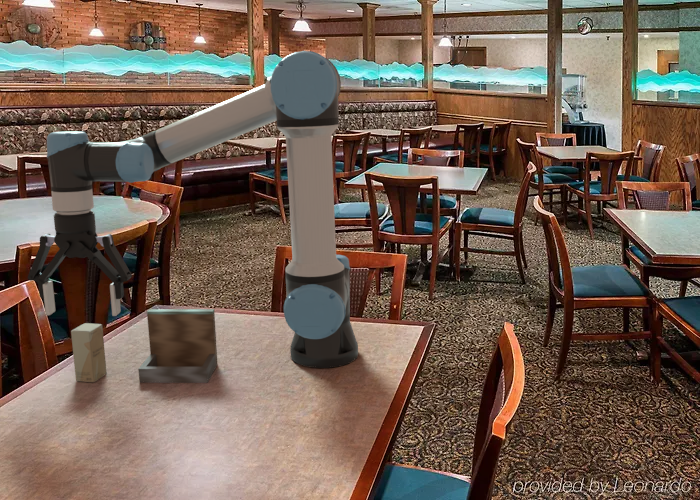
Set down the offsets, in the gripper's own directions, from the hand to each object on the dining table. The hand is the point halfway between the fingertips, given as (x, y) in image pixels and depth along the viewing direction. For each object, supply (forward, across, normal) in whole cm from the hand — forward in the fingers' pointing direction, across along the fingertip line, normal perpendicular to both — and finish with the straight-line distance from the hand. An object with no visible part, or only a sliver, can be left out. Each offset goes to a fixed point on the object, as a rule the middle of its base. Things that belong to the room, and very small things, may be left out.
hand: (83, 313), depth 139 cm
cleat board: (+14, -18, -2) cm, 23 cm away
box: (+14, 0, 0) cm, 14 cm away
